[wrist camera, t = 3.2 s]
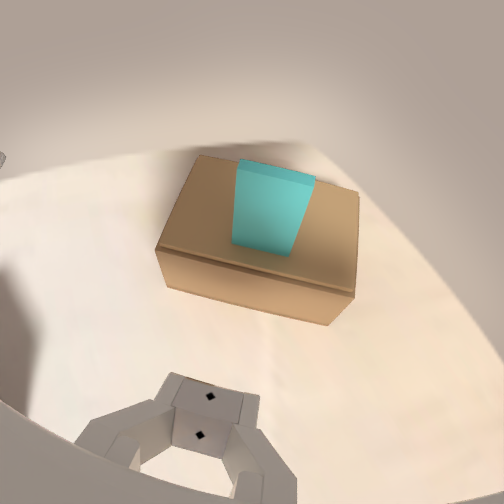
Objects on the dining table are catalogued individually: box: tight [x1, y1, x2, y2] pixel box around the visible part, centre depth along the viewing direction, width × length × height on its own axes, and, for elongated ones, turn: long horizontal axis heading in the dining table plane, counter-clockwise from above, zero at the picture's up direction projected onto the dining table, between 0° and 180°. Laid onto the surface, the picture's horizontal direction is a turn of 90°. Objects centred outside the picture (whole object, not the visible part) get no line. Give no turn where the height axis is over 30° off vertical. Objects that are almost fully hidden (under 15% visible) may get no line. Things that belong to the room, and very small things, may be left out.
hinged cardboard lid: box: [159, 155, 358, 292], centre depth 26 cm, size 17×11×10 cm, turn 77°
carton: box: [155, 158, 359, 326], centre depth 34 cm, size 18×12×8 cm, turn 77°
